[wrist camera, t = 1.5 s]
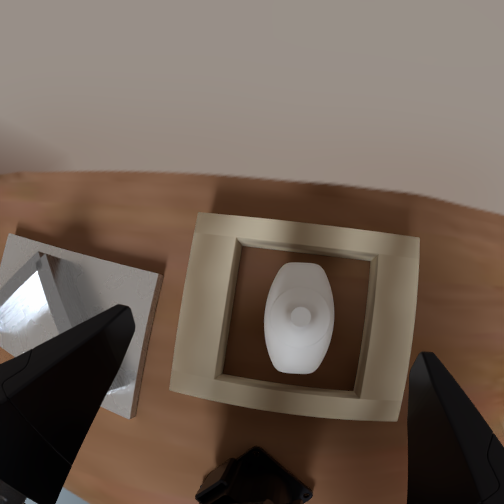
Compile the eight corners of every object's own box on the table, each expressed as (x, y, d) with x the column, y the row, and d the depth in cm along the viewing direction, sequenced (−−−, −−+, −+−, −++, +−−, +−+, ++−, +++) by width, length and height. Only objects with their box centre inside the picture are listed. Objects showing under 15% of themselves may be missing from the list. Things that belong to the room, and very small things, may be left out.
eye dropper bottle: (251, 335, 22) (203, 348, 11) (293, 270, 23) (290, 216, 11) (302, 368, 21) (308, 416, 10) (344, 301, 22) (394, 280, 10)
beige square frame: (408, 246, 22) (419, 237, 20) (387, 412, 20) (397, 421, 17) (207, 222, 25) (198, 212, 22) (181, 383, 22) (169, 390, 20)
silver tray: (135, 416, 22) (110, 429, 18) (-5, 338, 26) (-31, 336, 22) (163, 275, 24) (140, 266, 20) (14, 235, 28) (-10, 225, 24)
